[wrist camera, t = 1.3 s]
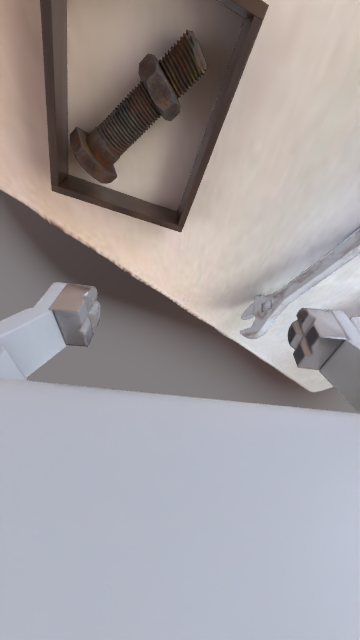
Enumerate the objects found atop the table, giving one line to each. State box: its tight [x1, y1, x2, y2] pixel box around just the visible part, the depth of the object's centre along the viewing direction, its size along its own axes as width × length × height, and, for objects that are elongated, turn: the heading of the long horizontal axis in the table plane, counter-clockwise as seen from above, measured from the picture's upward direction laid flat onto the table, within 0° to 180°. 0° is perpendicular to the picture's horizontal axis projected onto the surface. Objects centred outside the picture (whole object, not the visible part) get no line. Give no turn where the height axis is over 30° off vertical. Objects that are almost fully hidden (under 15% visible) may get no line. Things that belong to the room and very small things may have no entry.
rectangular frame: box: [40, 0, 269, 232], centre depth 24 cm, size 17×20×4 cm
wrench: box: [240, 228, 360, 339], centre depth 41 cm, size 8×2×30 cm
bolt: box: [70, 30, 207, 183], centre depth 24 cm, size 6×5×15 cm
